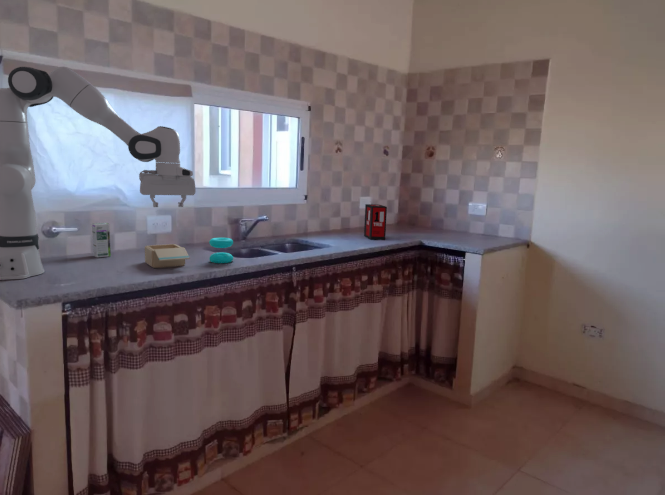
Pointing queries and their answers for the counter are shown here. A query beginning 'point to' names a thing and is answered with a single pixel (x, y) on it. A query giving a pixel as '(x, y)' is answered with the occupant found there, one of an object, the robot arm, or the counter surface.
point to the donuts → (221, 256)
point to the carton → (154, 261)
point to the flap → (171, 254)
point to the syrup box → (101, 239)
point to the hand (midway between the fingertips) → (168, 207)
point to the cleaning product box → (375, 221)
